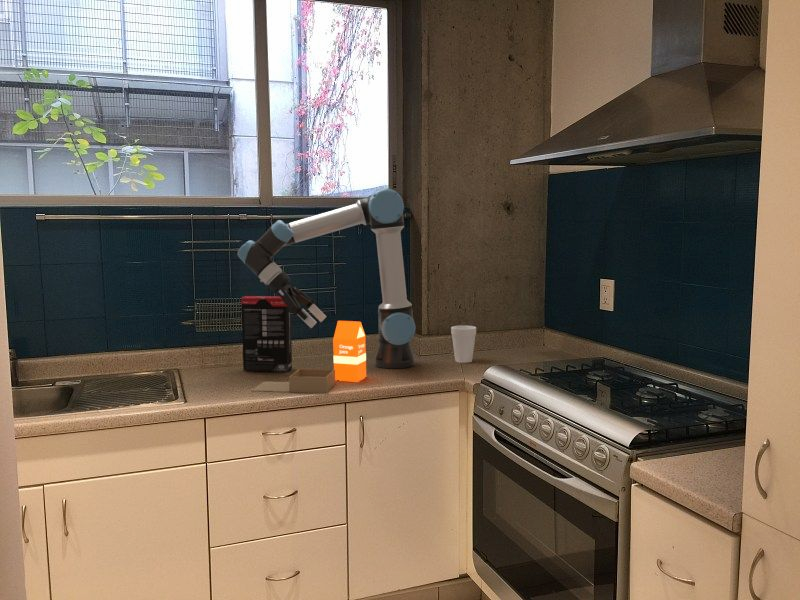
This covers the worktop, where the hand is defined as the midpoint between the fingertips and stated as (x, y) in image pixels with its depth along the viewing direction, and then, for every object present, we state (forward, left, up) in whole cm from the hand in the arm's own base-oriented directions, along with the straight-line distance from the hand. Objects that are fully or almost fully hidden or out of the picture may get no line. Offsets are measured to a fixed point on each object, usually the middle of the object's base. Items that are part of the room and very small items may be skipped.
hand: (319, 322), depth 237 cm
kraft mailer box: (+5, +14, -19) cm, 25 cm away
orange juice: (-10, 0, -20) cm, 22 cm away
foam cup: (-48, -32, -20) cm, 61 cm away
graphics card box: (+22, -11, -20) cm, 31 cm away
